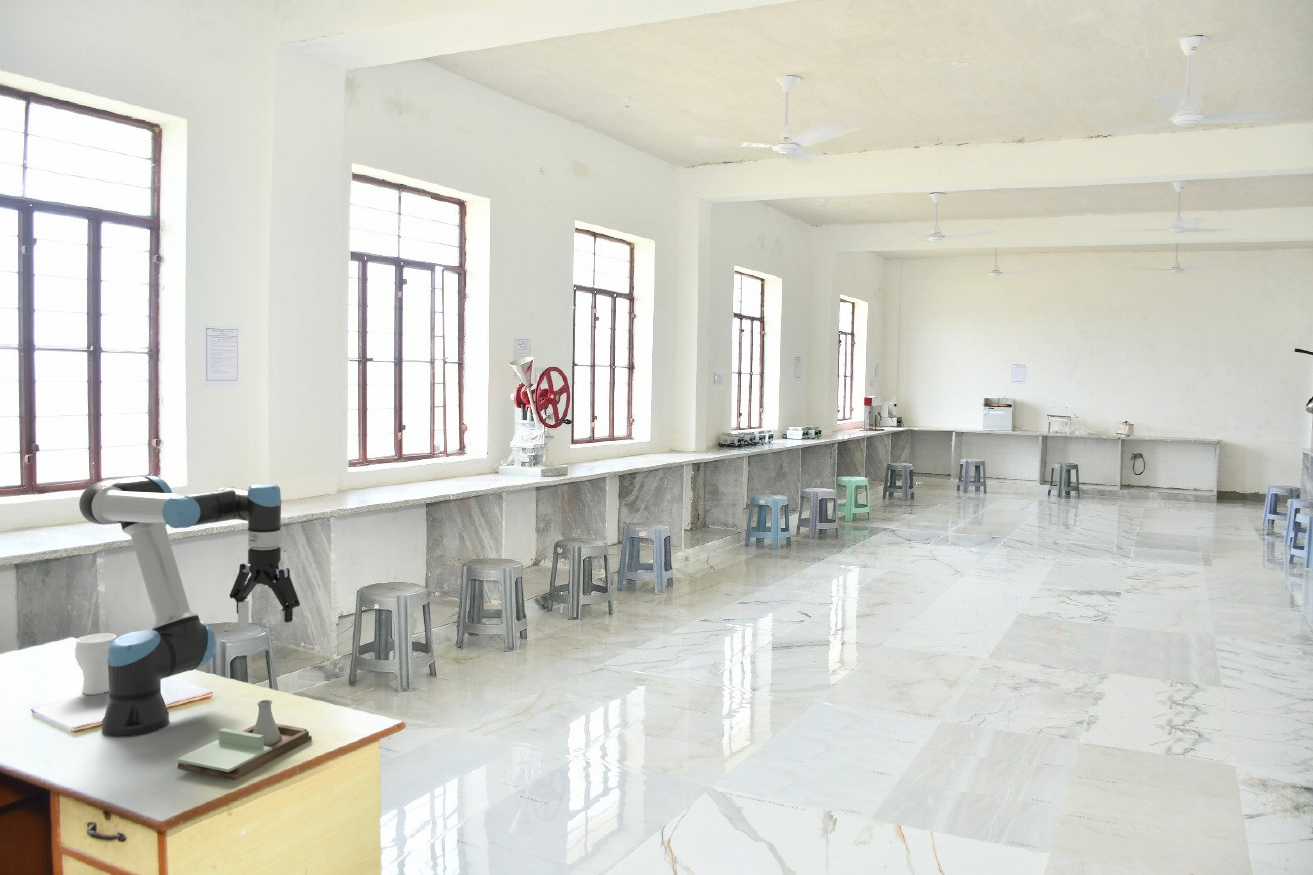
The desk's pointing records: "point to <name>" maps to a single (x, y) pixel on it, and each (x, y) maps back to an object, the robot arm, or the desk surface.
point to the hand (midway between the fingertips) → (264, 630)
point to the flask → (267, 724)
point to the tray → (288, 742)
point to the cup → (94, 661)
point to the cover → (227, 751)
